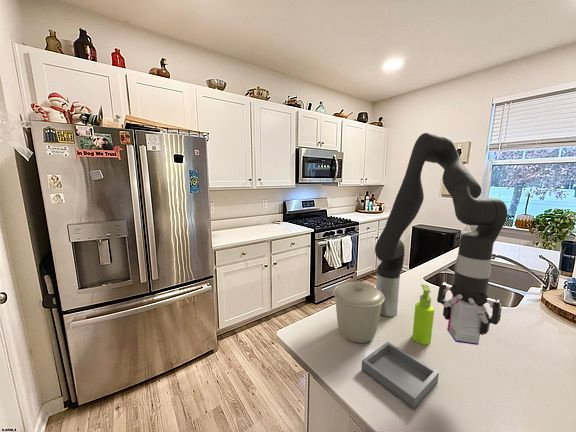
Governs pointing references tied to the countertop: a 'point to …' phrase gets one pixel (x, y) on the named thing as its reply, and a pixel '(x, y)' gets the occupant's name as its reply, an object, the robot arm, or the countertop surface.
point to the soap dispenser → (423, 318)
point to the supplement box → (464, 322)
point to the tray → (400, 374)
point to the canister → (358, 310)
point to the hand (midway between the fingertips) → (463, 325)
